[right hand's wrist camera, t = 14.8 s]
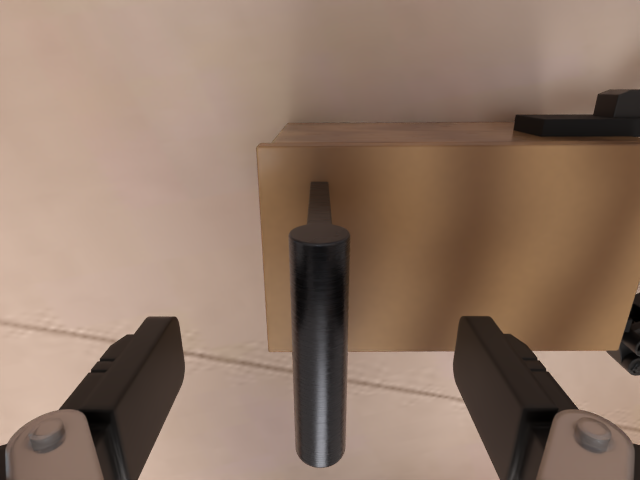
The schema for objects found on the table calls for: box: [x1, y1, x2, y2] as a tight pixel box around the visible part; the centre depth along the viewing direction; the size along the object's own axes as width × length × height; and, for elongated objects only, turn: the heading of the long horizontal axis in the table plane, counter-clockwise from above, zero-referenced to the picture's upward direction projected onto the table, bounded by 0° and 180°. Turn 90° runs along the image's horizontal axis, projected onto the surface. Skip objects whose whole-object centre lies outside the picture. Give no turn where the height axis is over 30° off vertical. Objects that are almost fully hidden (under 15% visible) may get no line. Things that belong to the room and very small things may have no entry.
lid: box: [256, 142, 640, 468], centre depth 14 cm, size 16×9×8 cm, turn 90°
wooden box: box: [272, 122, 640, 143], centre depth 22 cm, size 16×9×9 cm, turn 90°
